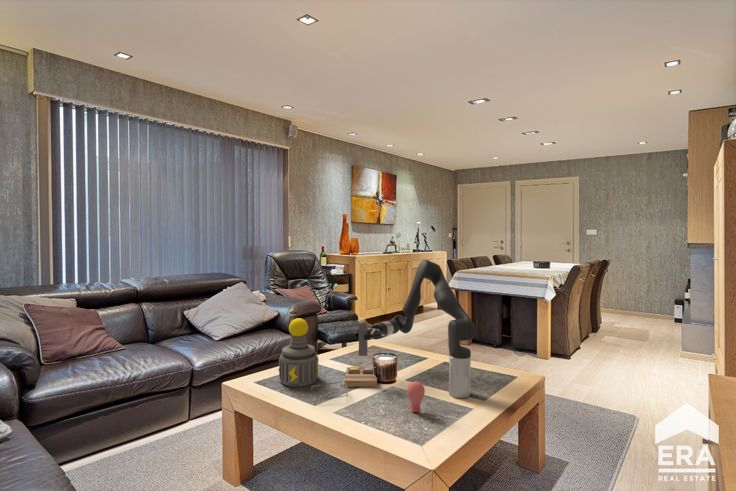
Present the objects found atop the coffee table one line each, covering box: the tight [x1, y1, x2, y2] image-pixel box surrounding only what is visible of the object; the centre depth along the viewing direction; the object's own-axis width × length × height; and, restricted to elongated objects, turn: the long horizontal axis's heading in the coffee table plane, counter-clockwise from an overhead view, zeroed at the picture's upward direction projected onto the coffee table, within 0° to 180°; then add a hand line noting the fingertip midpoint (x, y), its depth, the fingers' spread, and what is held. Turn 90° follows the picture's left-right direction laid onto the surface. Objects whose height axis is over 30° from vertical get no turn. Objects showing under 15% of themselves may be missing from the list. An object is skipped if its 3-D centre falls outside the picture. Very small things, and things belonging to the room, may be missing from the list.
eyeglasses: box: [311, 381, 349, 406], centre depth 188 cm, size 16×15×5 cm
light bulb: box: [406, 381, 426, 413], centre depth 172 cm, size 7×7×12 cm
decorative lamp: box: [278, 317, 320, 388], centre depth 205 cm, size 19×19×30 cm
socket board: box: [343, 366, 378, 388], centre depth 207 cm, size 18×15×3 cm
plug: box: [358, 317, 369, 357], centre depth 201 cm, size 4×4×17 cm
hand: (359, 336), depth 199 cm, fingers closed on plug, 5 cm apart
